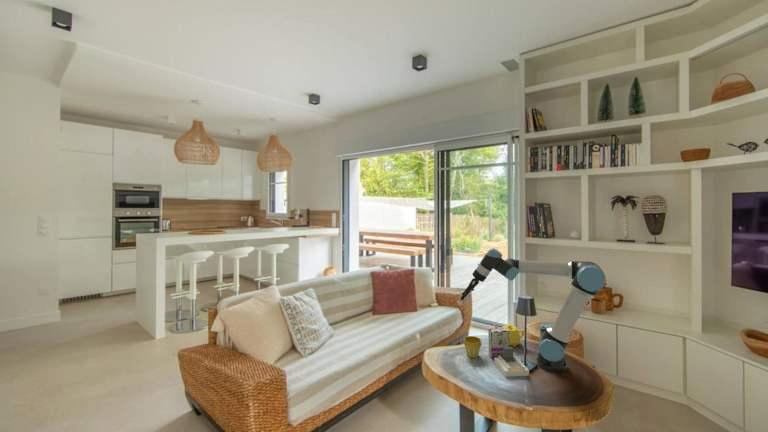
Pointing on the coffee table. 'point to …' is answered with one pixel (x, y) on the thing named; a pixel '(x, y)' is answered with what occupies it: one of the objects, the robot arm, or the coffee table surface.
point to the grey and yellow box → (513, 334)
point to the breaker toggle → (508, 354)
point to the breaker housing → (511, 367)
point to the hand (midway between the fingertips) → (461, 300)
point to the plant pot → (472, 346)
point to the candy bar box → (497, 341)
